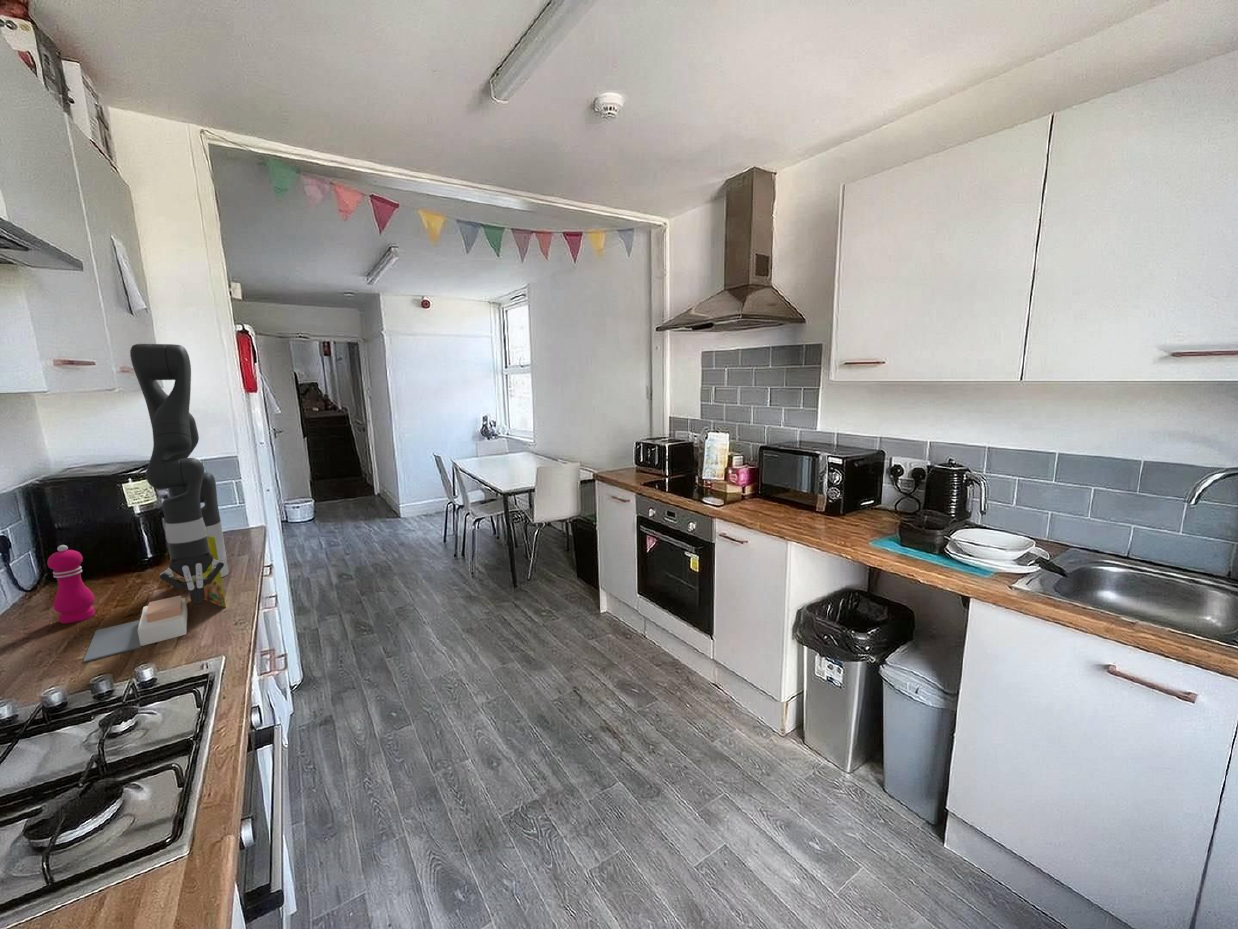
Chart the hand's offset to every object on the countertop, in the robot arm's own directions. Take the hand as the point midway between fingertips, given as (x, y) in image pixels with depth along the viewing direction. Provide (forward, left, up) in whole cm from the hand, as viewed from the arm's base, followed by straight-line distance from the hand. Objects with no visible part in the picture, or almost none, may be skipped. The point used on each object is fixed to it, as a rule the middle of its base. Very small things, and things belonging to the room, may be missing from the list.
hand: (198, 601), depth 125 cm
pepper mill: (-23, -25, -5) cm, 34 cm away
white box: (0, -7, -5) cm, 8 cm away
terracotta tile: (0, -6, -1) cm, 6 cm away
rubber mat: (0, -15, -5) cm, 16 cm away
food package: (-11, +2, -5) cm, 12 cm away
